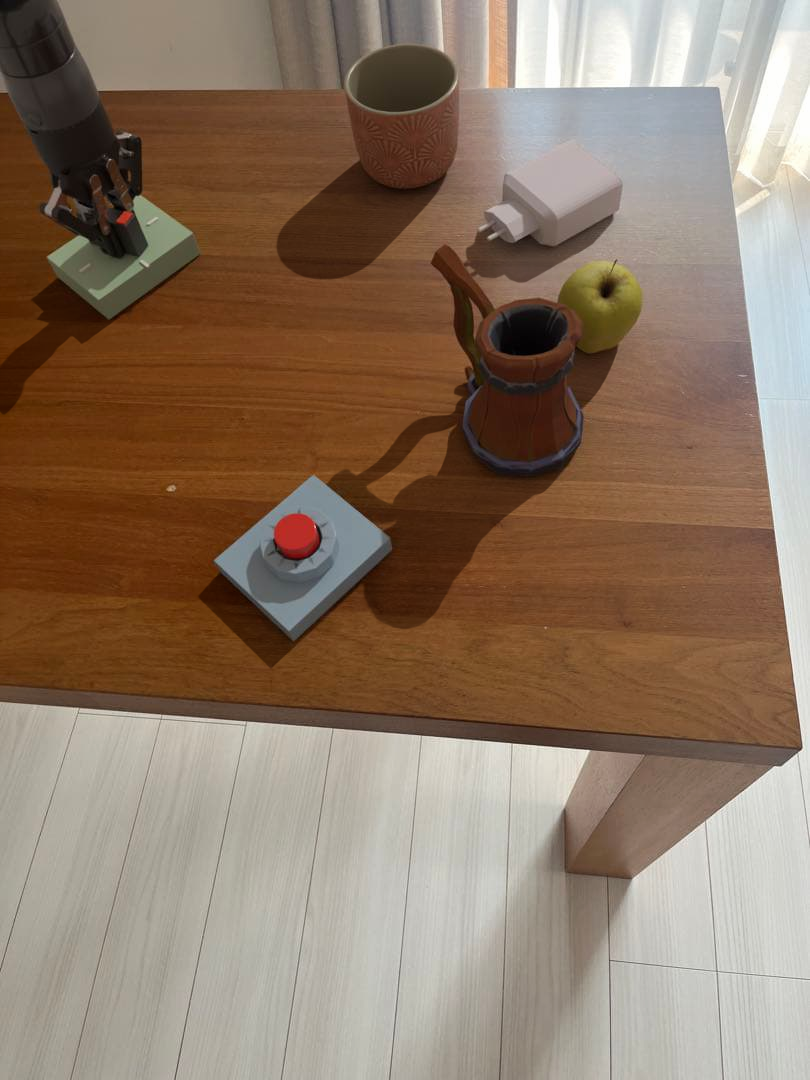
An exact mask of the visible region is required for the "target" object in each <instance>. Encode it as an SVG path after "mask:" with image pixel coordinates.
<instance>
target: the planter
mask: <svg viewBox="0 0 810 1080" xmlns="http://www.w3.org/2000/svg"><path fill="white" fill-rule="evenodd" d="M343 90H344V94H345V100H346V105H347V109H348V115H349V120H350V125H351V126H350V127H351V130H352V135H353V140H354V145H355V148H356V149H355V150H356V152H357V155H358V158H359V161H360V163H361V166H362V167H363V169H364V171H365V172H366V173H367V175H368V176H369V177H370V178H371V179H373V180H374V181H375V182H377V183H379V184H380V185H383V186H385V187H388V188H393V189H398V190H399V189H400V190H409V189H416V188H421V187H424V186H427V185H430V184H431V183H434V182H435V181H437V180H438V179H440V178H442V177H443V176H444V175H445V174H446V172H448V170H449V169H450V168H451V166H452V165H453V162H454V160H455V157H456V155H457V154H456V153H457V149H458V142H459V129H460V126H459V125H460V71H459V67H458V66H457V64H456V62H455V60H454V59H452V57H451V56H450V55H448V53H446V52H444V51H442V50H441V49H438V48H436V47H433V46H429V45H426V44H419V43H397V44H391V45H387V46H383V47H380V48H377V49H373V50H372V51H370V52H368V53H366V54H364V55H363V56H361V57H360V58H359V59H357V60H356V61H355V62H353V64H352V65H350V67H349V69H348V71H347V72H346V74H345V77H344V82H343Z"/></svg>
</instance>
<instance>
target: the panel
mask: <svg viewBox="0 0 810 1080" xmlns="http://www.w3.org/2000/svg"><path fill="white" fill-rule="evenodd" d="M133 202H134V208H133V209H134V212H135V214H136V216H137V219H138V222H139V223H140V226H141V229H142V231H143V233H144V236H145V238H146V240H147V243H148V247H147V248H146V249H145V250H144V252H143V253H142V254H141V255H140V257H136V256H133V255H129V254H126V253H125V255H124V256H123V257H122V258H121V259H118V258H116V257H115V258H114V257H111V256H109V255H106V254H104V253H103V252H102V251H101V249H100V247H99V246H98V245H94V244H91V243H90V241H89V240H88V239H86V238H84V237H82V236H80V235H76V236H75V237H74V238H72V239H71V240H69V241H68V242H66V243H65V244H63V245H62V246H61V247H59V248H58V249H56V250H55V251H53V252H52V253H50V254H49V255H47V256H46V260H47V261H48V263H49V265H50V266H51V268H52V270H53V272H54V274H55V275H56V277H57V278H58V279H59V280H60V281H62V283H64V284H65V285H66V286H68V287H69V288H70V289H71V290H72V291H73V292H75V293H76V294H77V295H78V296H79V297H81V299H83V300H84V301H86V303H88V304H89V305H90V306H92V307H93V308H94V309H95V310H96V311H97V312H99V313H100V314H101V315H102V316H103V317H105V318H106V319H107V320H111V319H112V318H114V317H115V316H117V315H118V314H119V313H120V312H122V311H123V310H125V309H127V308H128V307H129V306H130V305H131V304H133V303H135V302H136V301H138V299H140V298H141V297H143V296H144V295H146V294H147V293H148V292H150V291H151V290H152V289H154V288H155V287H157V286H158V285H160V284H161V283H162V282H164V281H165V280H166V279H168V278H169V277H170V276H172V275H173V274H174V273H176V272H177V271H178V270H179V271H180V269H182V268H184V266H186V265H187V264H188V263H190V262H191V261H193V260H194V259H196V258H197V257H198V256H200V255H201V251H200V248H199V244H198V243H197V240H196V237H195V235H194V233H193V232H192V231H191V230H190V229H188V228H187V227H186V226H184V225H183V224H181V223H180V222H178V221H177V220H176V219H175V218H173V217H172V216H170V215H169V214H168V213H166V212H165V211H163V210H162V209H161V208H159V207H158V206H156V205H155V204H153V203H152V202H151V201H149V200H148V199H146V198H145V196H142V194H141V195H140V196H135V198H134V200H133Z"/></svg>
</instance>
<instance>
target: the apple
mask: <svg viewBox="0 0 810 1080" xmlns="http://www.w3.org/2000/svg"><path fill="white" fill-rule="evenodd" d="M617 261H618V259H617V258H616V259H615V261H614V262H613V261H610V260H594V261H591V262H588V263H585V264H584V265H582V266H580V267H579V268H577V269H576V270H575V271H573V272H572V273H571V274H570V275H569V276H568V278H567V279H566V280H565V282H564V283H563V285H562V287H561V289H560V290H559V293H558V296H557V301H556V303H560V304H564V305H568V308H569V309H571V310H573V311H575V312H576V314H577V315H578V317H579V318H580V320H581V321H582V323H583V329H582V337H581V339H580V341H579V342H578V344H577V346H576V347H577V348H578V349H579V350H581V351H582V352H583V353H586V354H594V353H595V354H596V353H598V352H602V351H604V350H609V349H612V348H614V347H616V346H617V345H618V344H619V343H621V342H622V340H623V339H624V338H625V337H626V336H627V335H628V333H629V332H630V331H631V329H632V328H634V325H635V324H636V322H637V321H638V319H639V318H640V315H641V313H642V309H643V300H644V299H643V298H644V295H643V291H642V288H641V286H640V284H639V282H638V280H637V278H635V276H634V275H633V274H632V273H631V271H630V270H628V269H626V268H625V267H624V266H622V265H620V264H618V263H617Z"/></svg>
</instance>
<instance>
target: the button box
mask: <svg viewBox="0 0 810 1080" xmlns="http://www.w3.org/2000/svg"><path fill="white" fill-rule="evenodd" d="M295 513H300V514H304V515H307V516H308V517H310V518H311V519H312V520H313V521H314V523H315V526H316V529H317V532H318V535H319V544H318V546H317V548H316V550H315V551H314V552H313V553H312V554H311V555H309V556H308V557H306V558H303V559H290V558H288V557H286V556H284V555H283V554H282V553H281V552H280V550H279V548H278V546H277V543H276V541H275V538H274V530H275V527H276V525H277V523H278V522H279V521H280V520H281V519H282V518H283V517H285V516H287V515H290V514H295ZM391 541H392V540H391V537H390V536H389V535H387V534H386V533H385V532H384V531H382V530H381V529H380V528H379V527H377V526H376V524H374V523H373V522H371V520H369V519H368V518H367V517H365V516H364V515H363V514H362V513H361V512H359V511H358V510H357V509H356V508H355V507H353V506H352V505H351V504H350V503H348V502H347V501H346V500H345V499H343V498H342V497H341V496H340V495H339V494H338V493H336V492H335V491H334V490H333V489H332V488H331V487H329V486H328V485H327V484H325V483H324V482H323V481H322V480H321V479H319V478H318V477H317V476H315V474H312V475H311V476H310V477H309V478H308V479H306V480H305V481H304V482H303V483H302V484H300V485H299V486H298V487H297V488H296V489H295V490H294V491H292V492H291V493H290V494H289V495H288V496H287V497H285V498H284V499H283V500H282V501H281V502H280V503H278V505H276V506H275V507H274V508H273V509H272V510H270V511H269V512H268V513H267V514H266V515H264V516H263V517H262V519H260V520H259V521H257V523H256V524H254V525H253V526H252V527H250V529H248V530H247V531H246V532H245V533H244V534H242V535H241V536H240V537H239V538H238V539H237V540H236V541H235V542H233V543H232V544H231V545H230V546H229V547H228V548H226V549H225V550H224V551H223V552H222V553H220V554H219V555H217V557H216V558H215V559H213V562H214V564H215V566H216V567H217V570H218V571H219V572H220V573H221V574H222V576H224V577H225V579H227V580H228V581H229V582H230V583H232V585H233V586H234V587H235V588H236V589H237V590H239V591H240V592H241V594H243V595H244V596H245V597H246V598H247V599H248V600H249V601H250V602H251V603H252V604H253V605H254V606H255V607H256V608H257V609H259V610H260V612H262V614H264V615H265V616H266V617H267V618H268V619H269V620H270V621H271V622H272V623H274V624H275V626H277V627H278V628H279V629H280V630H281V631H282V632H283V633H284V634H285V635H286V636H287V637H288V638H289V639H290V640H291V641H292V642H295V641H296V640H297V639H298V638H299V637H300V636H301V635H303V634H304V633H305V631H307V630H309V628H310V627H311V626H312V625H313V624H315V623H316V622H317V620H318V619H320V617H322V616H323V615H324V614H325V613H326V612H328V610H330V609H331V608H332V607H333V606H334V605H335V604H336V602H338V601H339V600H340V599H341V598H342V597H343V596H344V595H345V594H347V593H348V592H349V591H350V590H351V589H352V588H353V587H354V586H355V585H356V584H357V583H358V582H360V580H362V579H363V578H364V577H365V576H366V575H367V574H368V573H370V572H371V571H372V570H373V568H375V566H376V565H378V564H379V563H380V562H381V561H382V560H384V558H385V557H387V555H388V554H389V553H391V552H392V551H393V546H392V542H391Z"/></svg>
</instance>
